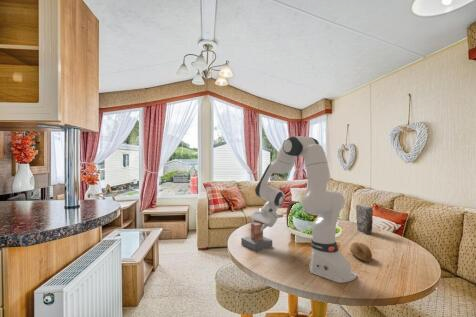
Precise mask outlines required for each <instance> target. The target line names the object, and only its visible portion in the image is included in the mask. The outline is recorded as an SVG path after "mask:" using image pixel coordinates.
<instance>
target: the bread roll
mask: <svg viewBox="0 0 476 317" xmlns="http://www.w3.org/2000/svg"><path fill="white" fill-rule="evenodd" d="M349 251H350V253H351V254H352V255H353V256H355V258H357V259H359V260H361V261H364V262H370V261H371V260H372V258H373V253H372V250H371V249H370V248H369V246H368V245H367V244H365V243H362V242H353V243H351V245H350V248H349Z"/></svg>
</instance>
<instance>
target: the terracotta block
mask: <svg viewBox="0 0 476 317" xmlns="http://www.w3.org/2000/svg"><path fill="white" fill-rule="evenodd" d="M250 225H251V226H250V236H251V239H252V240H255V241H259V240H263V237H264V230H263V231H260V230H259V229H260V227H262V226H263V224H262V223H259V222H255V223H252V222H251V223H250Z"/></svg>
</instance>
